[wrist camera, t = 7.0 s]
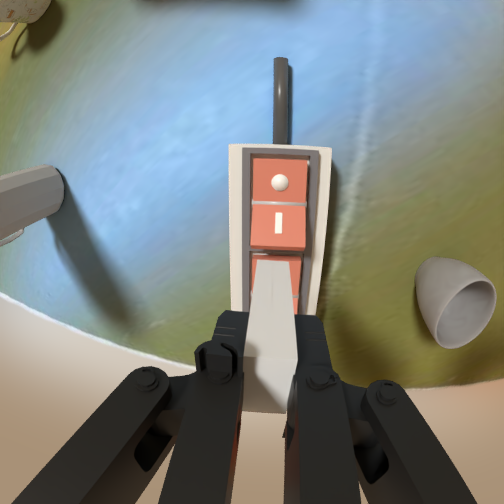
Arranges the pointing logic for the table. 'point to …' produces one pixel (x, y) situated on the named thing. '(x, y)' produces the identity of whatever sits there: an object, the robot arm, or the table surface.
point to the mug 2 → (454, 300)
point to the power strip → (242, 207)
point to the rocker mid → (294, 272)
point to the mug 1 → (21, 12)
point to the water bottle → (28, 198)
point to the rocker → (279, 204)
